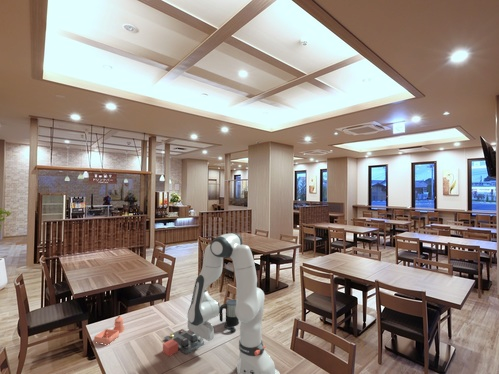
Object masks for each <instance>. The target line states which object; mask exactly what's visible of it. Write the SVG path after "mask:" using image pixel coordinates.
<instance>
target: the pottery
mask: <svg viewBox="0 0 499 374" xmlns="http://www.w3.org/2000/svg"><path fill="white" fill-rule="evenodd" d="M124 331H125V325H124V318H123V317H122V316H121V315H118V316H117V317H116V318H115V319H114V327H113V329H110V328H105V329H104V330H102V331H101V332H99V333H98V334H95V335H94V337H93V338H94V340H93V342H97V343H103V344H106V345H108V344H109V345H111V344H112V343H113V342H114V341H116V340H117V339H118V338H120V334H121V333H123V332H124ZM105 335H106V336H105ZM108 335H109V336H108ZM102 337H103V338H102ZM116 338H117V339H116ZM115 339H116V340H115ZM112 341H113V342H112ZM111 342H112V343H111ZM110 343H111V344H110ZM106 345H105V346H106ZM109 345H108V346H109Z"/></svg>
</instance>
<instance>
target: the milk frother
mask: <svg viewBox="0 0 499 374" xmlns="http://www.w3.org/2000/svg"><path fill="white" fill-rule="evenodd" d="M225 302H226V303H224V304H221V305H220V312H219V315H218V316H219V322H224V321H223V320H224V319H223V316H224V315H223V314H224V313H223V310H224V309H225V324H224V326H223V327H224V328H225V329H226V330H228V331H231V332H236V330H237V329H236V328H235V327H237V326H239V323H240V320H239V319H238V318H237V317H236V314H235V309H236V298H235V299H234V298H233V299H231V298H230V299H227V300H226V301H225Z"/></svg>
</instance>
